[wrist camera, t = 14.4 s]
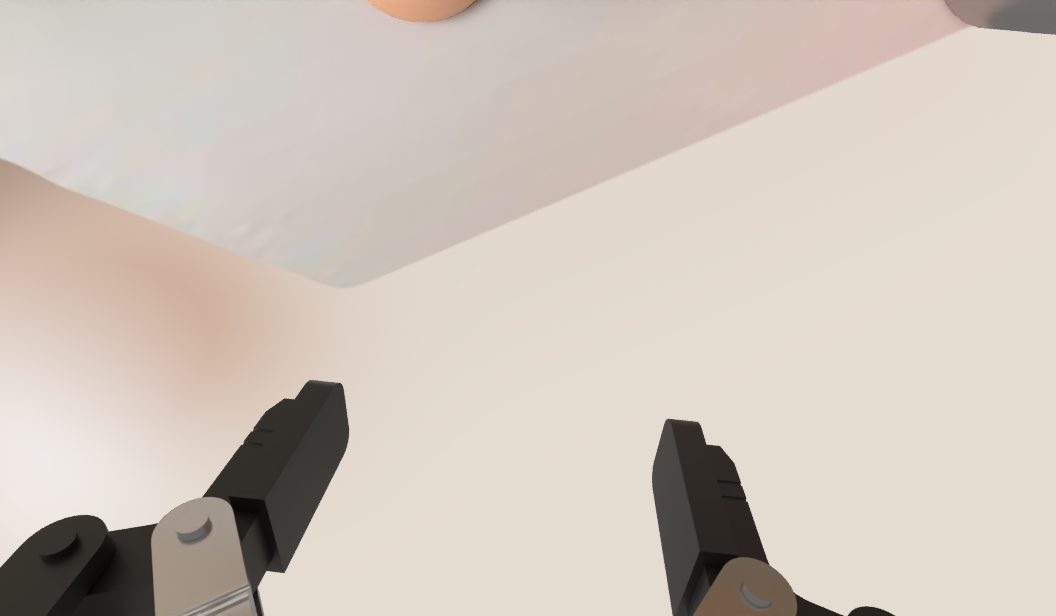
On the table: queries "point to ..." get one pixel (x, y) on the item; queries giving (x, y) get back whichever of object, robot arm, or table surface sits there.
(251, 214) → the table surface
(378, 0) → the peach half ellipsoid
